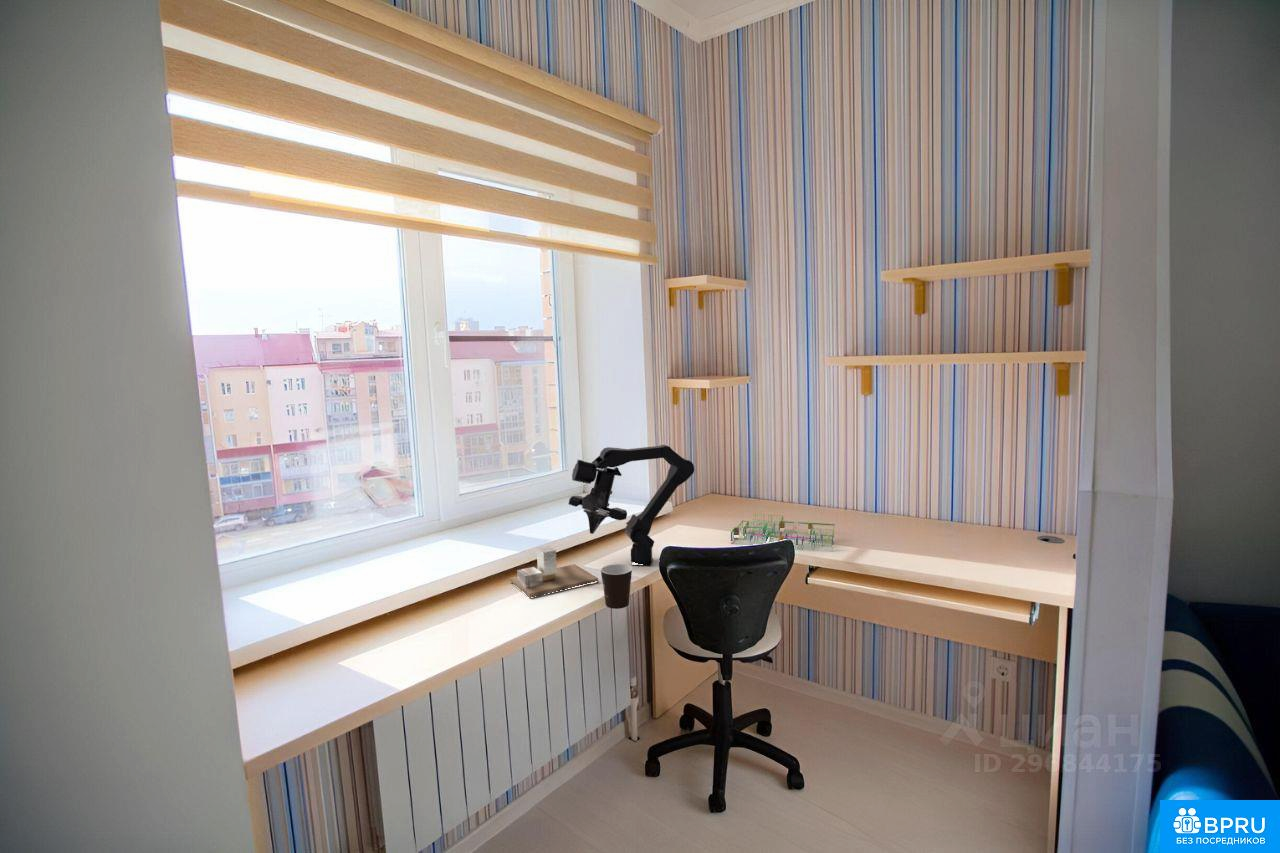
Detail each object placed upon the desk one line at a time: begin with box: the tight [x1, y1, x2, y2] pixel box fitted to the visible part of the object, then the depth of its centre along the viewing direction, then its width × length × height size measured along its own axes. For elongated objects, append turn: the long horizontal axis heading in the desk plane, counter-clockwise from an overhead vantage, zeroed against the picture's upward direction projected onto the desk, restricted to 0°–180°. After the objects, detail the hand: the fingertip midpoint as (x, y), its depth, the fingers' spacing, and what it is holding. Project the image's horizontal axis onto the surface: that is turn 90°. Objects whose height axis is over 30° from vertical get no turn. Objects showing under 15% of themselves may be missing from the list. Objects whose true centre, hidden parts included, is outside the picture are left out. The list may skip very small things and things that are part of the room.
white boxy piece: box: [536, 545, 558, 581], centre depth 190 cm, size 9×5×9 cm, turn 122°
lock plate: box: [509, 563, 599, 599], centre depth 193 cm, size 22×16×5 cm
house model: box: [730, 513, 835, 547], centre depth 236 cm, size 35×30×5 cm
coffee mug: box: [600, 563, 633, 610], centre depth 176 cm, size 12×9×10 cm
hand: (591, 533), depth 204 cm, fingers closed
